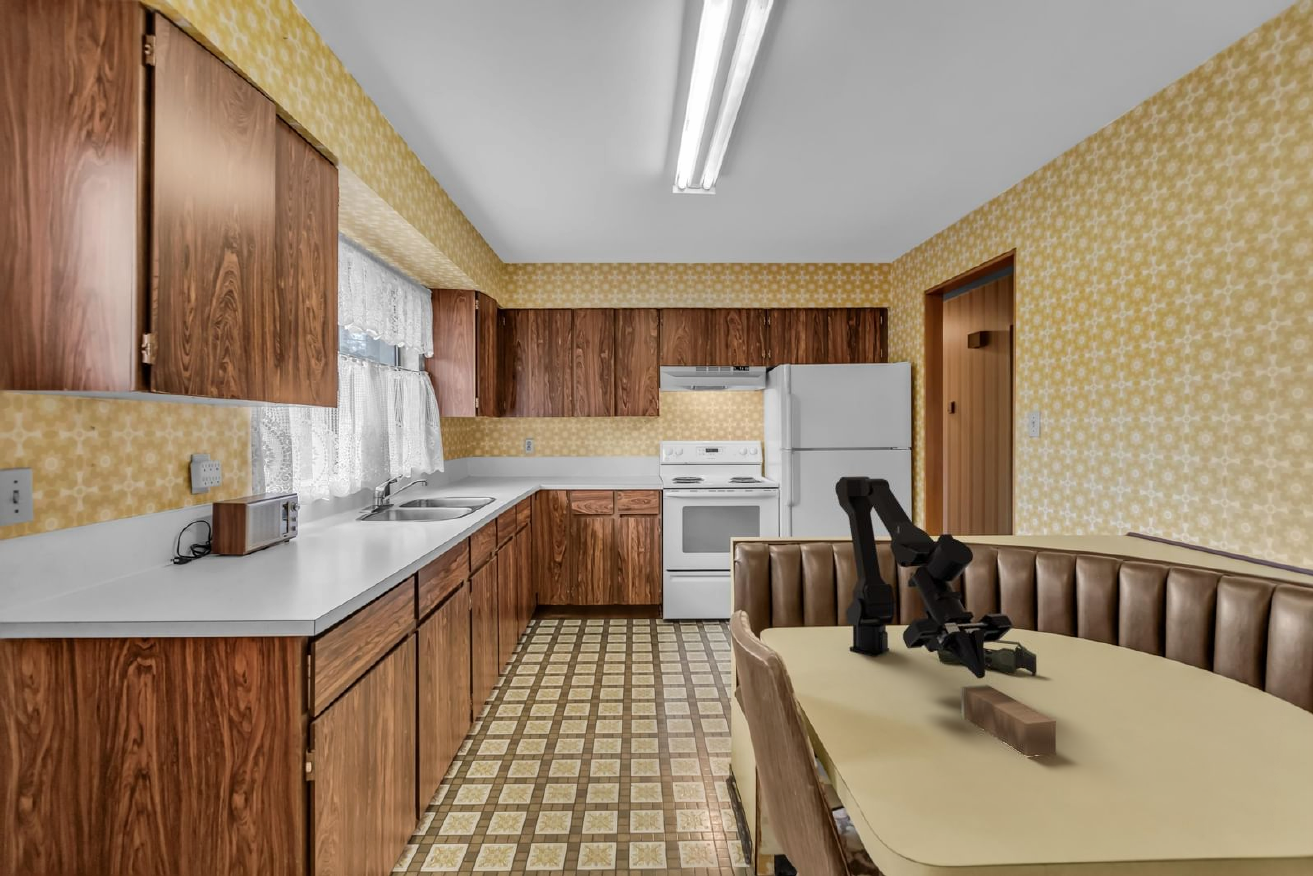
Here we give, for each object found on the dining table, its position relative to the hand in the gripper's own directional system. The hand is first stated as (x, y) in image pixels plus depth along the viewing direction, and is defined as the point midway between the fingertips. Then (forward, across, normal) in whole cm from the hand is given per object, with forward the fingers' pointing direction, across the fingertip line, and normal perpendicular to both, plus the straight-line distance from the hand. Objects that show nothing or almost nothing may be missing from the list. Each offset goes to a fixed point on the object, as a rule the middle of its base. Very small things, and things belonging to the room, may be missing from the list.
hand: (981, 677), depth 103 cm
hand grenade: (-10, -18, -20) cm, 29 cm away
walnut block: (+2, 0, -5) cm, 5 cm away
